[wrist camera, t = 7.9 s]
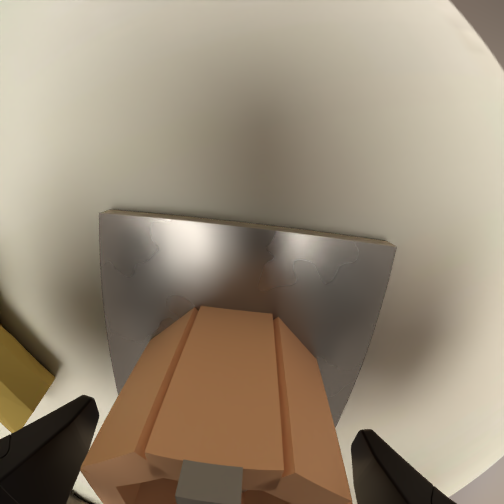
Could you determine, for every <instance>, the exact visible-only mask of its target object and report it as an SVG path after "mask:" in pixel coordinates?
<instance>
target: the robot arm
mask: <svg viewBox="0 0 504 504" xmlns="http://www.w3.org/2000/svg"><path fill="white" fill-rule="evenodd" d="M98 419H99V412H98V409H97V405H96V402H95V400H94V398H92V397H89V396H86V395H82V396H80V397H78V398H76V399H75V400H73V401H71V402H69V403H67V404H66V405H64V406H62V407H60V408H58V409H57V410H55V411H53V412H51V413H49V414H47V415H46V416H44V417H42V418H40V419H38V420H36V421H34V422H33V423H31V424H29V425H27V426H25V427H23V428H21V429H19V430H17V431H16V432H14V433H12V434H11V435H8V436H6V437H4V438H2V439H0V504H66V503H67V501H68V498H69V496H70V493H71V491H72V489H73V486H74V484H75V481H76V479H77V477H78V474H79V472H80V469H81V465H82V463H83V461H84V459H85V457H86V455H87V454H88V451H89V448H90V445H91V442H92V438H93V435H94V432H95V429H96V426H97V422H98ZM351 455H352V468H353V481H354V489H355V494H356V499H357V504H457V503H455V502H454V501H452V500H451V499H449V498H448V497H447V496H446V495H444V494H443V493H442V492H441V491H439V490H438V489H437V488H436V487H435V486H433V485H432V484H431V483H430V482H429V481H428V480H427V479H425V478H424V477H423V476H422V475H421V474H420V473H419V472H418V471H416V470H415V469H414V468H413V467H412V466H411V465H410V464H409V463H408V462H406V461H405V460H404V459H403V458H402V457H401V456H400V455H399V454H398V453H397V452H395V451H394V450H393V449H392V448H391V447H390V446H389V445H388V444H387V443H386V442H385V441H384V440H382V439H381V438H380V437H379V436H378V435H377V434H376V433H375V432H374V431H373V430H371V429H364V430H360V431H359V432H358V434H357V435H356V437H355V439H354V441H353V443H352V445H351Z"/></svg>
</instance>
